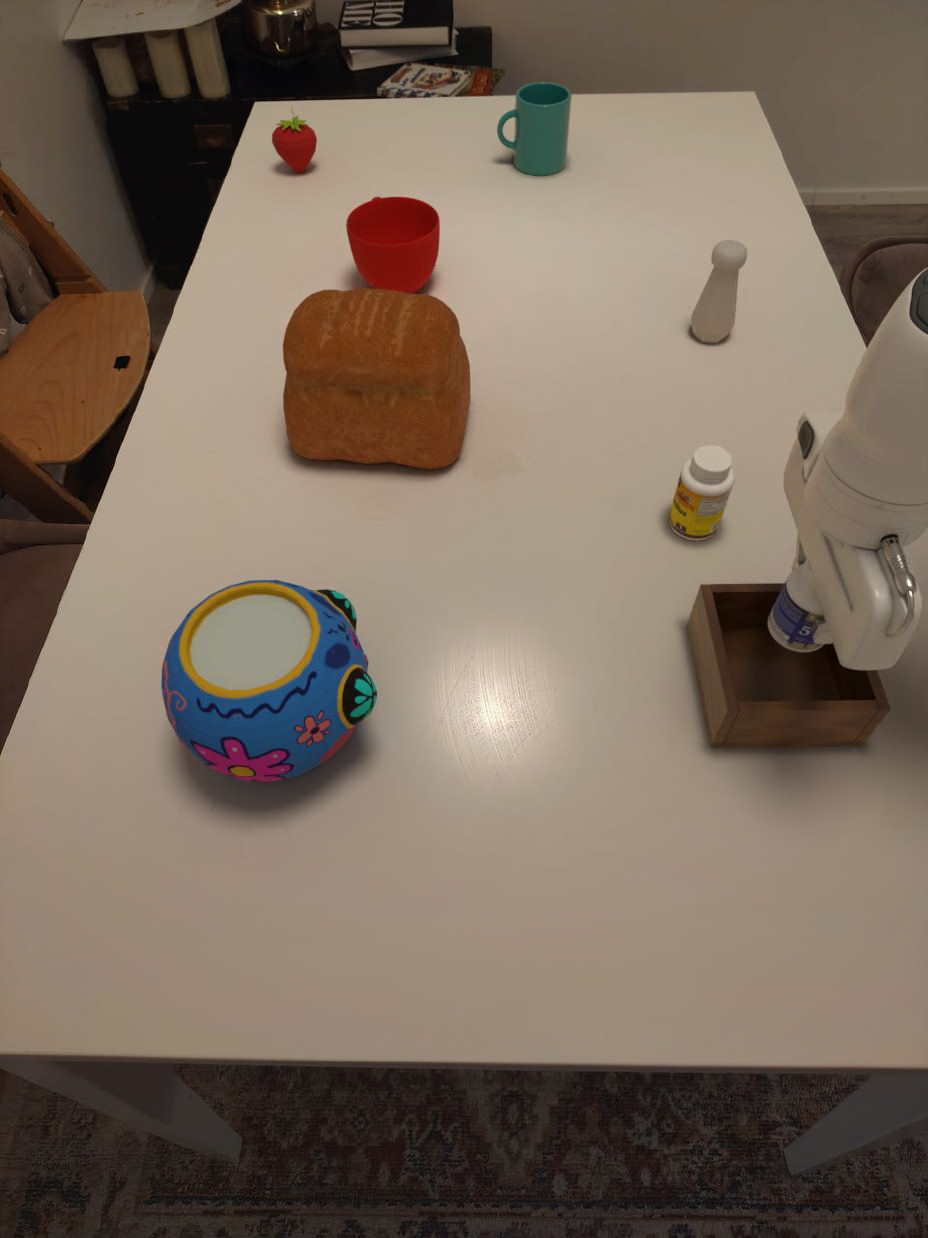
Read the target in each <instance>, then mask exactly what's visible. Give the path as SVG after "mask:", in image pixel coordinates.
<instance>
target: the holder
mask: <svg viewBox="0 0 928 1238" xmlns="http://www.w3.org/2000/svg"><path fill="white" fill-rule="evenodd" d="M784 584H785V582H772V583H770V582H769V583H767V582H765V583H761V582H760V583H709V584H707V583H705V584H703V583H702V584H699V588H698V591H697V594H696V597H695V599H694V603H693V605H692V608H691V611H690V614H689V617H688V619H687V622H686V630H687V635H688V642H689V646H690V651H691V656H692V660H693V665H694V672H695V676H696V681H697V686H698V691H699V697H700V701H701V706H702V707H701V708H702V711H703V717H704V722H705V728H706V732H707V737H708V740H709V747H710V748H772V747H773V748H774V747H776V748H780V747H781V748H782V747H786V748H787V747H788V748H789V747H862V746H863V745H864V743H865V742H866V741H867V740H868V739H869V738H870V736H871V735H872V734H873V732H874V731H875V730H876V728H878V726H879V725H880V724H881V722H882V721H883V720H884V719H885V717H886V716H887V715H888V714H889V712H890V711H892V710H891V706H890V703H889V700H888V697H887V694H886V692H885V688H884V686H883V683H882V681H881V677H880V675H879V670H854V669H849V668H846V667H843V666H842V665H841V664H840V662H839V659H838V656H837V653H836V650H835V647H834V644H833V643H831V644H824V645H823V646H822V647H821V648H819V649H817V650H815V651H811V652H796V651H792V650H790V649H787V648H785V647H783V646H782V645H780V644H779V643H778V642H777V641H776V640H775V639H774V638H773V637H772V635H771V633H770V631H769V628H768V617H769V615H770V612H771V610H772V608H773V606H774V604H775V602H776V600H777V598H778V596H779V594H780V592H781V590H782V588H783V586H784Z"/></svg>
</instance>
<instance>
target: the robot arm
mask: <svg viewBox="0 0 928 1238" xmlns="http://www.w3.org/2000/svg"><path fill="white" fill-rule="evenodd" d="M844 402H845V403H844V408H837V409H836V408H835V409H833V408H832V409H819V410H810V411H809V410H808V411H803V412H802V413H801V415H800V417H799V420H798V422H797V425H796V430H795V431H796V438H795V439H794V441H793V445H792V447H791V448H790V449H791V450H790V452H789V455H788V458H787V461H786V463H785V466H784V470H783V491H784V494H785V498H786V500H787V504H788V506H789V509H790V512H791V515H792V519H793V522H794V526H795V528H796V531H797V534H796V547H795V557H794V559H793V562H792V563H791V566H790V567H791V572H792V571H793V570H794V569H795V568H796V567H798V566H800V565H802V564H804V563H805V561H806V559H808V561H809V564H810V568H811V571H812V574H813V581H814V584H815V588H816V591H817V594H818V597H819V600H820V603H821V606H822V609H823V612H824V616H825V618H815V619H814V621H813V624H812V625H811V626H810V629H811V633H812V636H813V640H814V643H816V644H831V643H833V644H834V647H835V650H836V653H837V656H838V659H839V662H840V664H841V665H842V666H843V667H846V668H849V669H854V670H877V671H879V670H881V671H882V670H887V669H890V668H892V667H894V666H895V665H896V664H897V662H898V661H899V659H900V657H901V656H902V654H903V653H904V651H905V649H906V647H907V646H908V644H909V642H910V640H911V638H912V637H913V634H914V632H915V630H916V629H917V626H918V623H919V621H920V618H921V615H922V609H923V598H922V593H921V589H920V586H919V583H918V581H917V579H916V576H915V573H914V572H913V569H912V567H911V565H910V562H909V559H908V557H907V554H906V553H905V550H904V547H906V546H907V547H908V546H909V545H911V544H913V543H914V542H916V541H918V540H919V539H920V538H921V537H922V536H923V535H924V534H925V532H926V531H927V529H928V267H926V268H924V269H923V270H921V271H920V272H919V273H918V274H917V275H915V277H914V278H913V279H912V280H911V281H910V282H909V284H908V285H906V286H905V288H904V289H903V291H902V292H901V293H900V295H898V297H897V299H896V300H895V302H894V303H893V304H892V306H891V308H890V309H889V310H888V312H887V314H886V316H884V318H883V320H882V321H881V323H880V325H879V326H878V327H877V330H876V331H875V333H874V335H873V337H872V338H871V340H870V341H869V344H868V346H867V347H866V349H865V351H864V354H863V356H862V357H861V359H860V362H859V363H858V365H857V367H856V370H855V371H854V375H853V376H852V378H851V381H850V383H849V385H848V388H847V391H846V395H845V401H844Z"/></svg>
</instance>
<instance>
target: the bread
mask: <svg viewBox="0 0 928 1238" xmlns="http://www.w3.org/2000/svg"><path fill="white" fill-rule="evenodd" d="M283 336H284V337H283V341H282V357H283V365H284V369H285V372H286V375H285V381H284V386H283V394H282V402H283V403H282V404H283V405H282V406H283V413H284V421H285V429H286V436H287V438H288V441H289V442H290V444H291V447H292V448H293V451H294V452H295V453H296V454H298V455H299V456H301V457H303V458H305V459H307V460H317V461H336V460H343V461H349V462H353V463H358V464H359V463H360V464H366V465H372V464H381V463H389V462H390V463H394V464H399V465H402V466H403V465H404V466H407V467H412V468H417V469H424V470H425V469H426V470H434V469H436V470H437V469H441V468H445V467H448V466H450V465H452V464H453V463H455V462H456V460H457V459H458V458H459V456H460V454H461V450H462V448H463V444H464V439H465V438H464V437H465V433H466V428H467V422H468V415H469V409H470V404H471V387H472V386H471V367H470V366H471V365H470V360H469V356H468V352H467V348H466V345H465V342H464V340H463V338H462V336H461V329H460V323H459V320H458V318H457V315H456V314H455V312H454V311H453V310H452V308H451V307H450V306H448V304H446V303H445V302H444V301H443V300H441V299H439V298H438V297H436V296H433V295H430V294H423V293H422V294H418V293H415V294H409V293H404V292H399V291H394V290H387V289H374V288H368V287H367V288H366V287H365V288H355V289H348V290H341V289H323V290H318V291H316V292H314V293H311V294H310V295H308V296H307V297H305V298H304V299H303V300H302V301H301V302H300V303H299V305H298V306H296V308H295V309H294V311H293V312H292V315H291V316H290V319H289V321H288V323H287V326H286V328H285V331H284V335H283Z"/></svg>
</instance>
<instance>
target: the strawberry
mask: <svg viewBox="0 0 928 1238" xmlns="http://www.w3.org/2000/svg"><path fill="white" fill-rule="evenodd" d="M290 109H291V114H292V115H293V117H292V118H291V120H284V119H281V120H279V123H276V124H275V126H277V127H275V129H274V130H273V132H272V133H271V143H272V146H273V147H274V149H275V151H276V154H277V155H278V156H279V157H280V158H281V159H282V160H283V161H284V162H285V164H287V165H288V166H289V167H290V168H291V169H292V170H293V171H294V172H295V173H297V174H303V173H304V172H305V171H306V169H307V167H309V165H310V163H311V162H312V159H313V157H314V155H315V153H316V151H317V142H318V139H317V135H316V132H315V130H314V129H313V128H311V127H310V126H309V125H308V124H307V123H306V122H307V120H304V119H299V117H300V115H296V116H295V114H294V111H293V108H292V107H290Z"/></svg>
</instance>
